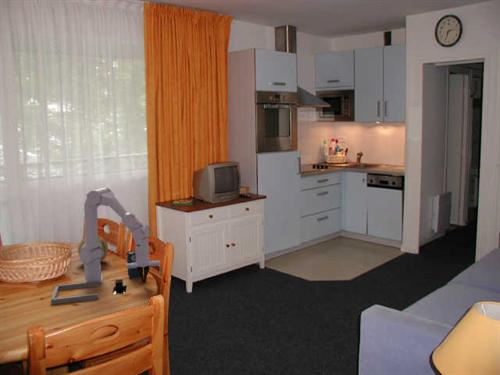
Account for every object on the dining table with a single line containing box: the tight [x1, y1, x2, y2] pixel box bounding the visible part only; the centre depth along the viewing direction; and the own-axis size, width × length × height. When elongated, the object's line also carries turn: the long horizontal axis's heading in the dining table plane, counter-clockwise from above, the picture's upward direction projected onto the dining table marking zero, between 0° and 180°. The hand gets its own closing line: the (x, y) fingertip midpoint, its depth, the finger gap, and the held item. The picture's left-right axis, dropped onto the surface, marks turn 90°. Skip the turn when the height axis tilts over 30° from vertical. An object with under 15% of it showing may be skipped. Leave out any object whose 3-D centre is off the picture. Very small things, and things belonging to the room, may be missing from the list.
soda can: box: [126, 250, 141, 280], centre depth 228 cm, size 7×7×12 cm
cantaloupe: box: [77, 234, 109, 263], centre depth 249 cm, size 15×15×15 cm
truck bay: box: [50, 281, 101, 305], centre depth 208 cm, size 17×18×2 cm
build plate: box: [112, 279, 128, 295], centre depth 212 cm, size 12×7×5 cm, turn 11°
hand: (144, 282), depth 215 cm, fingers closed
